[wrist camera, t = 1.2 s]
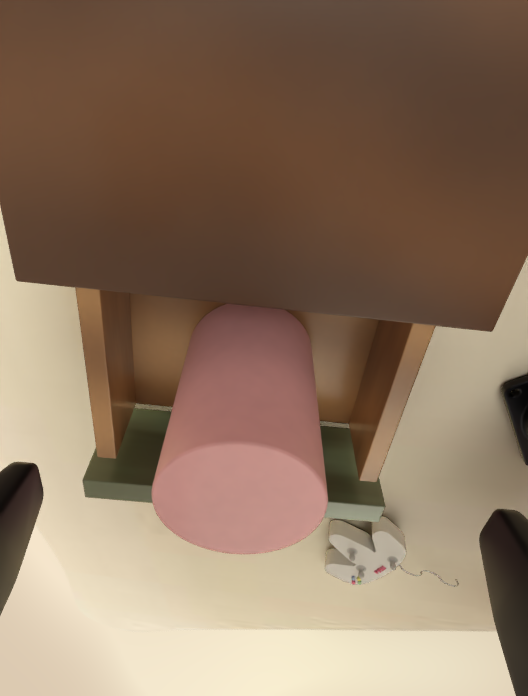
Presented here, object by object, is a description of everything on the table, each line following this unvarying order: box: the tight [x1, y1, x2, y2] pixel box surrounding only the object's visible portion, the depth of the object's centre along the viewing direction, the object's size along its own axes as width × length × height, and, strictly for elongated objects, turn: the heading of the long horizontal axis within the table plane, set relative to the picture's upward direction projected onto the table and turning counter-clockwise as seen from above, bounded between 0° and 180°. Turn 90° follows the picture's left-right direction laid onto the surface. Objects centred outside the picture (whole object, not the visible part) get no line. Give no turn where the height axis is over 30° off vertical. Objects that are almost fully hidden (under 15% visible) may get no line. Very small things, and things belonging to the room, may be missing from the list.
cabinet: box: [0, 0, 528, 332], centre depth 13 cm, size 15×15×7 cm
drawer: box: [75, 287, 435, 522], centre depth 20 cm, size 15×13×5 cm
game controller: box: [325, 516, 459, 586], centre depth 31 cm, size 6×12×3 cm, turn 73°
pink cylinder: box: [152, 304, 328, 554], centre depth 18 cm, size 5×5×8 cm
